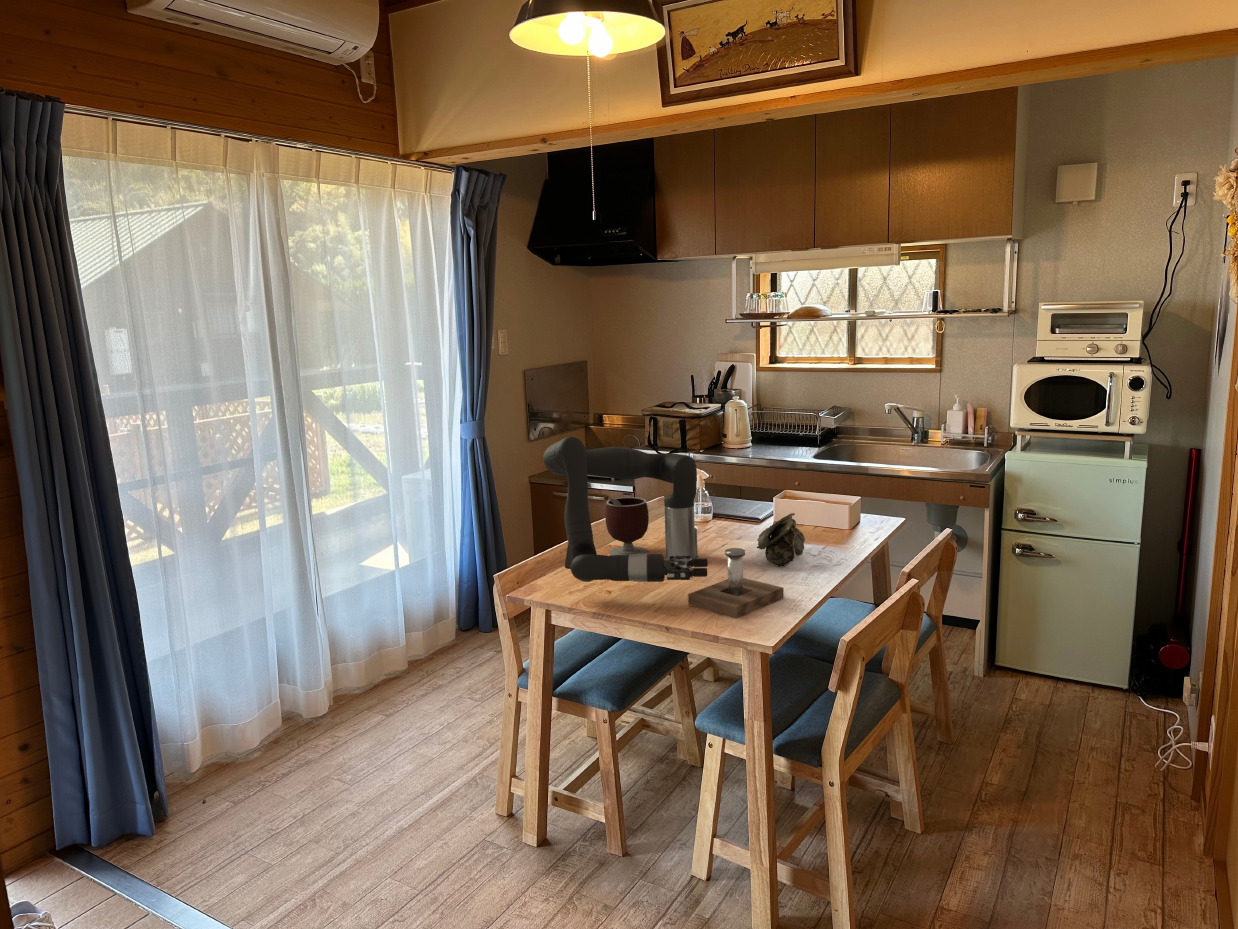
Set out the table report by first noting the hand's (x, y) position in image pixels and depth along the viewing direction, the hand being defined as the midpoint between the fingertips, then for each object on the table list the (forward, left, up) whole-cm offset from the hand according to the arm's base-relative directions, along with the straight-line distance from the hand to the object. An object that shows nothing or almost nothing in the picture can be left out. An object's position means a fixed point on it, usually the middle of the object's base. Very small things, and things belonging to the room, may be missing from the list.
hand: (707, 567), depth 227 cm
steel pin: (-5, +6, -9) cm, 12 cm away
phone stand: (-1, -52, -10) cm, 53 cm away
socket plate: (-5, +6, -9) cm, 12 cm away
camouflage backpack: (-44, -9, -10) cm, 46 cm away
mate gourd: (-19, -50, -10) cm, 55 cm away
